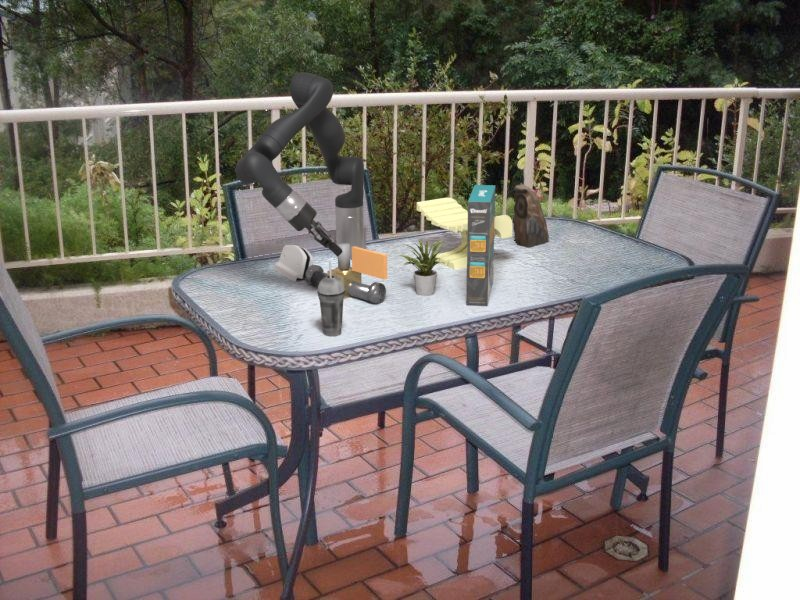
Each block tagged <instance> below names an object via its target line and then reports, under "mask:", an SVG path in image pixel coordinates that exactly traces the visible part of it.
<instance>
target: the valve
mask: <svg viewBox="0 0 800 600" xmlns="http://www.w3.org/2000/svg"><path fill="white" fill-rule="evenodd" d="M331 273H332V276H336V277H338V278H339V279H340V280H341V281H342V282H343V285H344V288H345V296H344V299H343V300H345V299H348V298H351V297H352V298H357V299H360V300H363V301H367V302H370V303H373V304H376V305H379V304H381V303H382V302H383V301H384V299H385V297H386V294H387V288H386V286H385V285H384V283H382V282H378V281H375V282H373V283H371V284H370V285H369V284H366V283H362V281H363V280H362V273H359V272H356V271H352V266H350V268H349V269H339V268H338V266H337V267H336V268H333V269H332V268H331ZM326 276H330V274H329V270H327V271H326V272H325V271H324V269H323V268H322V266H321V265H317V264H312V265H311V266H310V267H309V268H308V269H307V271H306V275H305V277H306V279H305V281H306V283H308V284H309V285H313V286H316V287H318V285H319V283H320V281H321V280H322V279H323V278H325V277H326Z"/></svg>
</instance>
